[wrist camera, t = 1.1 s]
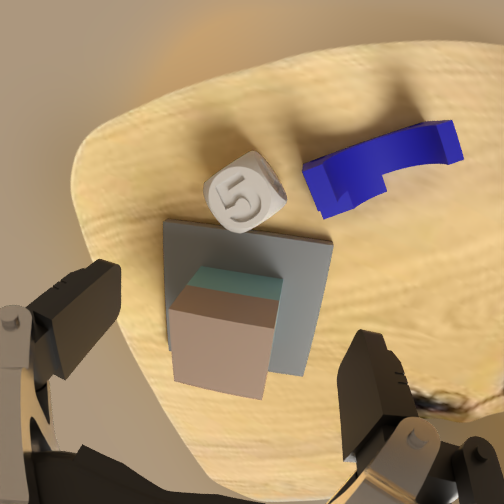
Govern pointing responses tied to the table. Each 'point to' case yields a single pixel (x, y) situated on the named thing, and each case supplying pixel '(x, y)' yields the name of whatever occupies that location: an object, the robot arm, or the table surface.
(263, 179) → the die
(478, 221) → the table surface
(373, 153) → the blue saddle bracket
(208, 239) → the brick tower
